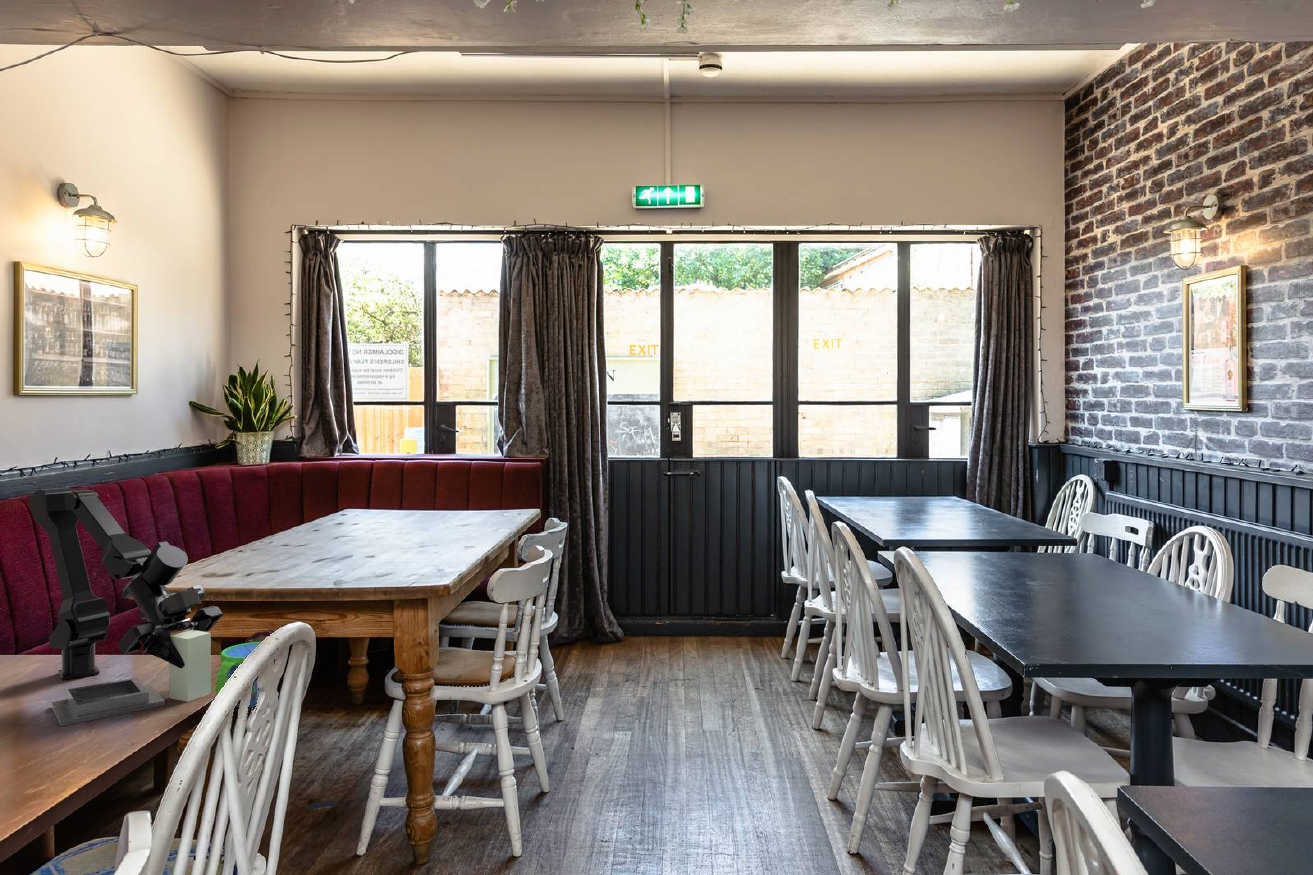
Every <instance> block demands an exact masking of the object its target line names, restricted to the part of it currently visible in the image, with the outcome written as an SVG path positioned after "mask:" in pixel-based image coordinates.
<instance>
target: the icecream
mask: <svg viewBox="0 0 1313 875" xmlns="http://www.w3.org/2000/svg"><path fill="white" fill-rule="evenodd" d="M275 631H276V630H275V629H274V628H272V627H271V628H267V629H266V630H263V631H257V632H254V633H253V634H252V635H250V636H249V637H247V638H246V639H245V643H251V642H261V641H263V640H264V639H265V638H266V637H267V636H270V634H272V633H273V632H274V633H275Z"/></svg>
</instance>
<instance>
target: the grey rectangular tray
mask: <svg viewBox="0 0 1313 875" xmlns="http://www.w3.org/2000/svg"><path fill="white" fill-rule="evenodd" d="M165 703H166V702H165V698H163V697H162V696H161V695H160V694H159V692H157V690H156V689H155V687H154V686H152V685H151V684H150V683H149V684H144V685H143V684H142V683H141V681H140V680H138V678H137V677H131V678H125V679H120V680H119V679H118V680H114V681H108V682H102V683H96V684H92V685H91V684H89V685H85V686H79V687H73V688H68V689H67V698H66V699H61V700H57V701H56V700H54V701H51V702H50V708H51V710H52V711H53V714H54V716H55V718H56V720H57V722H58V723H59V726H60V727H63V726H69V725H73V724H80V723H85V722H89V721H94V720H98V719H99V720H100V719H104V718H110V717H115V716H119V715H125V714H129V713H130V714H131V713H135V712H140V711H145V710H150V709H155V708H161V707H165V706H166V705H165Z"/></svg>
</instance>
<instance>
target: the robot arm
mask: <svg viewBox="0 0 1313 875" xmlns="http://www.w3.org/2000/svg"><path fill="white" fill-rule="evenodd" d="M99 495H100V494H98V492H97V491H95V490H93V489H86V490H85V489H84V490H76V489H74V488H73V487H70V486H69V487H55V488H54V487H53V488H42V489H41V488H40V489H38V490H35V491H34V493H33V494H32V495H31V496H30V497H29V500H28V507H29V508H28V509H30V511H31V514H32V516H33V518H34V521H35V523H36V524H38V526H39V527H41V528H42V529H43V530H44V531H45V532H46V533H47V536H48V539H49V544H50V548H51V552H52V553H51V554H52V557H53V561H54V566H55V569H56V573H57V578H58V583H59V586H60V590H61V595H62V598H63V599H62V600H63V601H62V604H61V605H60V608H59V610H58V613H57V621H58V624H57V626H56V627H55V629H54V630H53V631H52V632H51V634H50V635H49V636H48V642H49V646H50V648H51V649H55V650H59V651H61V669H58V670H57V674H58V676H59V677H60V679H61V680H68V679H69V680H70V679H75V678H81V677H88V676H94V675H99V674H100V672H101V671H100V669H99V668H98V667H97V666H96V643H98V642H104V641H106V640H107V636H108V632H109V628H110V625H111V613H110V612H109V609H108V605H107V604H108V602H107V599H105V597H98V596H97V595H95V594H94V593H93V591H92V588H91V583H90V579H89V574H88V570H87V566H86V562H85V558H84V555H83V550H82V546H81V542H80V539H79V538H80V537H79V533H78V529H77V525H78V522H81V524H82V525H83V527H84V528H85V529H86V530H87V532H88V533H89V534H90V536H91V537H92V538H93V540H94V541H95V543H97V545H98V547H99V548H100V549H101V551H102V558H101V559H102V560H101V562H102V564H103V566H104V568H105V570H106V572H107V574H108V575H109V576H110V577H111V578H112V579H114V580H124V579H128V578H129V579H130V578H132V579H131V580H130V582H127V583H125V584H124V589H123V591H122V594H121V595H122V596H121V598H123V599H126V598H132V599H133V601H134V602H135V603H136V605H137V607H138V608H139V610H140V613H139V615H138V617H139V619H140V620H141V621H144V620H146V621H145V622H141V623H137V624H133V625H131V626H130V627H129V628H128V630H127V631H126V632H125V634H123V636H122V637H121V638H120V641H119V644H118V645H119V649H120V650H121V652H122V653H123V655H129V654H134V653H137V652H138V651H140V649H141V648H142V645H143V648H142V649H141V651H140V652H141V653H142V654H146V653H147V654H148V655H151V656H154V657H155V658H158V659H161V660H163V661H165V662H167V663H168V664H169V663H171V664H173V665H175V666H177V667H179V668H183V667H184V666H185V664H184V661H183V659H182V657H181V656H180V654H179V652H178V651H177V649H176V648H175V646H174V644H173V643H172V641H171V635H172V634H175V633H177V632H186V631H190V630H196V631H203V632H210V631H211V630H212V629H213V627H215V625H216V624H217V623H218V622H219V620H220V619H221V618H222V616H224V614H223V612H222V611H221V609H220V607H219V606H216V605H210V606H208V607H203V608H198V610H197V611H196V612H195V614H194V615H193V616H192V617H190V618H187V616H189V615H190V614H191V612H192V610H191V609H192V608H194V607H196V606H200V605H202V604H203V603H202V601H203V600H206V598H207V594H206V590H205V589H204V587H202V586H201V585H200V584H195V585H192V586H191V587H188V588H187V590H183V591H178V592H173V593H172V592H171V593H170V591H169V590H168V588H167V587H166V586H168V585H170V584H171V583H173V582H174V580H175V579H176V578H177V576H178V575H179V574H180V573H181V571H182V570H183V568H184V567H186V565H187V564H188V561H189V558H188V555H187V552H185V551H184V550H182V549H181V548H179V547H178V546H174V545H170V544H169V542H168V541H160V542H156V544H155V545H154V546H153V549H152V551H151V550H150V549H149V548H148V547H147V546H146V545H145V544H144V543H143V542H142V541H140V540H139V539H136V538H135V537H134V538H133V537H131V536H129V535H128V534H127V533H126V532H125V531H124V530H123V528H122V527H121V525H119V523H118V522H117V521H116V520H115V518H114V517H113V516H112V514H111V513H110V511H109V510H108V509H107V508H106V506H105V505H104V503H103V502H101V500H100V496H99ZM141 642H142V644H141Z"/></svg>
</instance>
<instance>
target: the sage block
mask: <svg viewBox="0 0 1313 875" xmlns="http://www.w3.org/2000/svg"><path fill="white" fill-rule="evenodd" d="M170 635H171V641H172V643H173V644H174V646H175V648H176V649H177V651H178V652H179V654H180V656H181V657H182V659H183V661H184V664H185V666H184V667H183V668H179V667H177V666H175V665H173V664H171V663H169V662H168V672H169V673H168V674H169V675H168V678H169V679H168V680H169V682H168V686H169V688H168V689H169V690H168V693H169V694H168V697H169V699H171V700H177V701H181V702H187V703H188V702H192V701H195V700H199V699H200V698H203V697H206V696H208V695H211V694H212V683H211V682H212V676H211V675H212V673H211V672H212V665H211V664H212V662H211V660H212V659H211V655H212V653H211V652H212V651H211V650H212V646H211V645H212V642H211V641H212V638H211V637H212V634H211V632H210V631H208V632H203V631H196V630H190V631H186V632H185V631H181V632H179V633H176V634H175V633H174V634H170Z"/></svg>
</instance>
